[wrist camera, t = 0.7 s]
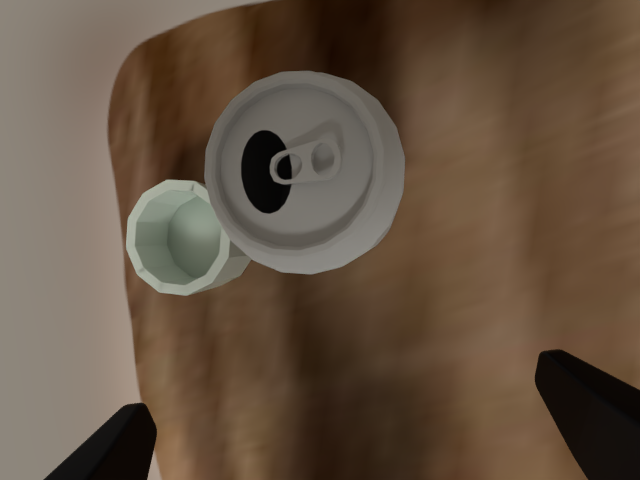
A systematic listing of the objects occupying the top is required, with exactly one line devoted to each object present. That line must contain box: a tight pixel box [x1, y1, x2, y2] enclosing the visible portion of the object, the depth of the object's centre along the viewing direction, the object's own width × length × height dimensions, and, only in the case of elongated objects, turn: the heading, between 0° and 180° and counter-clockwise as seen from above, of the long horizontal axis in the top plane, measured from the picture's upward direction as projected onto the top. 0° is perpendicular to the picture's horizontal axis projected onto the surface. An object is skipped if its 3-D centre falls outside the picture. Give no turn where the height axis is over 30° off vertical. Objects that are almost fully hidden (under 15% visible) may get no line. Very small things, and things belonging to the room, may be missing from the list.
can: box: [204, 71, 405, 274], centre depth 17 cm, size 8×8×12 cm
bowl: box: [126, 180, 251, 296], centre depth 23 cm, size 7×7×4 cm
